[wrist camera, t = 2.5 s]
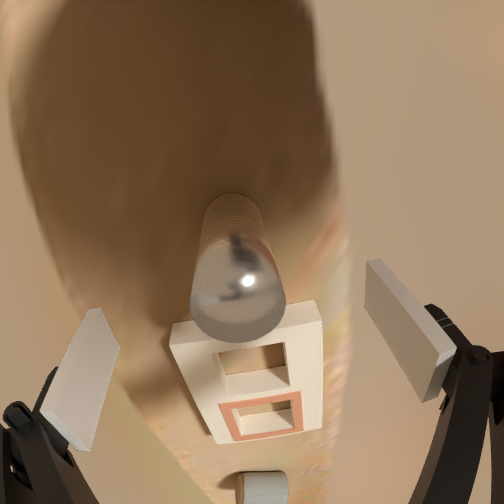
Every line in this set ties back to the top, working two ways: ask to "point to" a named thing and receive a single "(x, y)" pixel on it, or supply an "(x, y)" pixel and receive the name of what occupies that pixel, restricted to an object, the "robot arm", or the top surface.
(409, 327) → the robot arm
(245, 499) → the ceramic mug
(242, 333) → the pin
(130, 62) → the top surface
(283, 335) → the pin board
